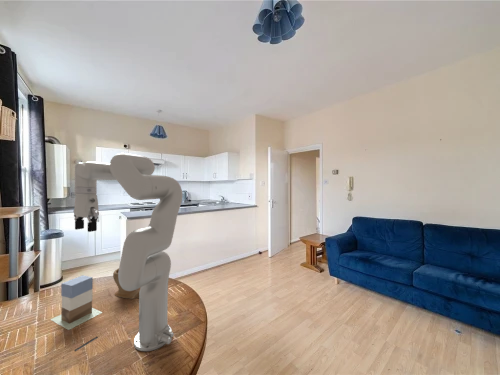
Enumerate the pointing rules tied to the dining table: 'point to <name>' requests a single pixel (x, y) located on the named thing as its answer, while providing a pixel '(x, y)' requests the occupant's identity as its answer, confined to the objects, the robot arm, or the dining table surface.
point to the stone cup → (121, 291)
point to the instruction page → (85, 344)
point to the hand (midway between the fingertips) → (85, 230)
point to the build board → (77, 322)
